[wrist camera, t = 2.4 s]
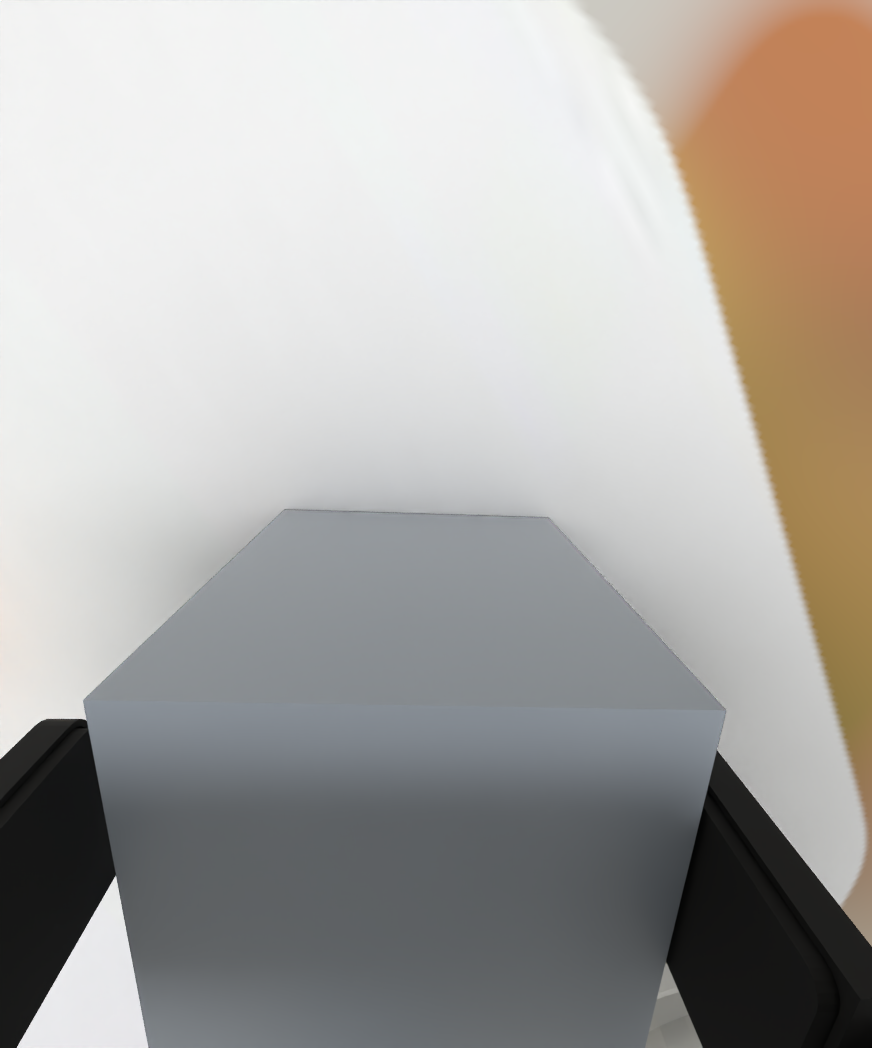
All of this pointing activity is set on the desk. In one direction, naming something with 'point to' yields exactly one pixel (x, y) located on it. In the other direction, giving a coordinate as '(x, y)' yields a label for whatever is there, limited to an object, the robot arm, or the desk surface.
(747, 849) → the robot arm
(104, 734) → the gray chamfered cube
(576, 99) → the desk surface
